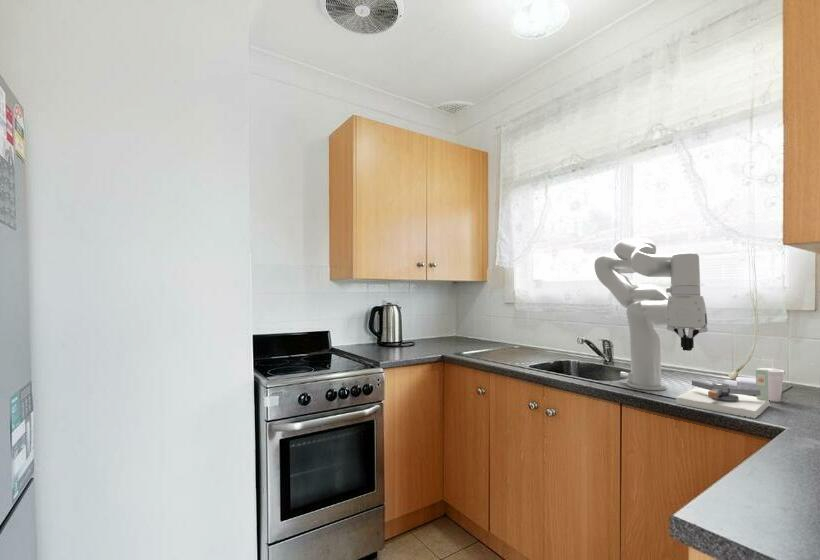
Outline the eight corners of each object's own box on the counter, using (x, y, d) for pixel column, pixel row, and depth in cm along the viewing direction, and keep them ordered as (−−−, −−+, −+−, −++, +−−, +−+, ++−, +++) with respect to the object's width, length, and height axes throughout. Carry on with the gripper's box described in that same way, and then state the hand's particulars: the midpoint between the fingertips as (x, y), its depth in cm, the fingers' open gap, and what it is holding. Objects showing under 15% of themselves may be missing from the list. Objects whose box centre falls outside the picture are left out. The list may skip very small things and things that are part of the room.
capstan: (677, 397, 122) (677, 383, 122) (693, 389, 131) (692, 376, 132) (750, 410, 109) (749, 394, 109) (761, 400, 118) (761, 386, 118)
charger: (717, 386, 145) (772, 392, 136) (717, 391, 138) (776, 398, 129) (717, 373, 145) (771, 379, 136) (717, 378, 138) (775, 384, 129)
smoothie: (791, 403, 122) (790, 358, 123) (767, 402, 124) (766, 357, 124) (776, 397, 129) (775, 354, 129) (754, 396, 130) (752, 354, 130)
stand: (675, 403, 123) (674, 368, 123) (695, 393, 135) (694, 361, 135) (755, 418, 108) (754, 378, 109) (769, 405, 120) (768, 369, 121)
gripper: (654, 292, 127) (656, 348, 127) (711, 291, 116) (713, 354, 115) (663, 291, 132) (664, 346, 132) (718, 291, 121) (720, 351, 120)
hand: (687, 350), depth 123 cm, fingers closed
